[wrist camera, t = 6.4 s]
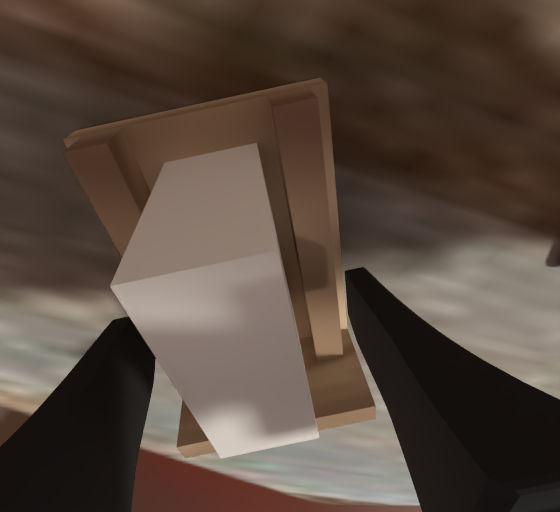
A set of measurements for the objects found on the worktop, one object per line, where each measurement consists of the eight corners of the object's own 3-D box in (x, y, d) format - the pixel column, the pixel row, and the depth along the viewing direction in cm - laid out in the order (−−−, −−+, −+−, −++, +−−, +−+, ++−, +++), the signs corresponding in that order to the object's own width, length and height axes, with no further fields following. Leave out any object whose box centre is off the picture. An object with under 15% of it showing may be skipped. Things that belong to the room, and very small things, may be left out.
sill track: (74, 130, 11) (-18, 201, 7) (320, 77, 11) (373, 116, 7) (195, 358, 18) (185, 458, 14) (343, 327, 18) (375, 418, 14)
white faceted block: (256, 143, 11) (278, 250, 6) (290, 299, 15) (319, 438, 10) (157, 164, 11) (95, 289, 6) (218, 314, 15) (212, 460, 10)
